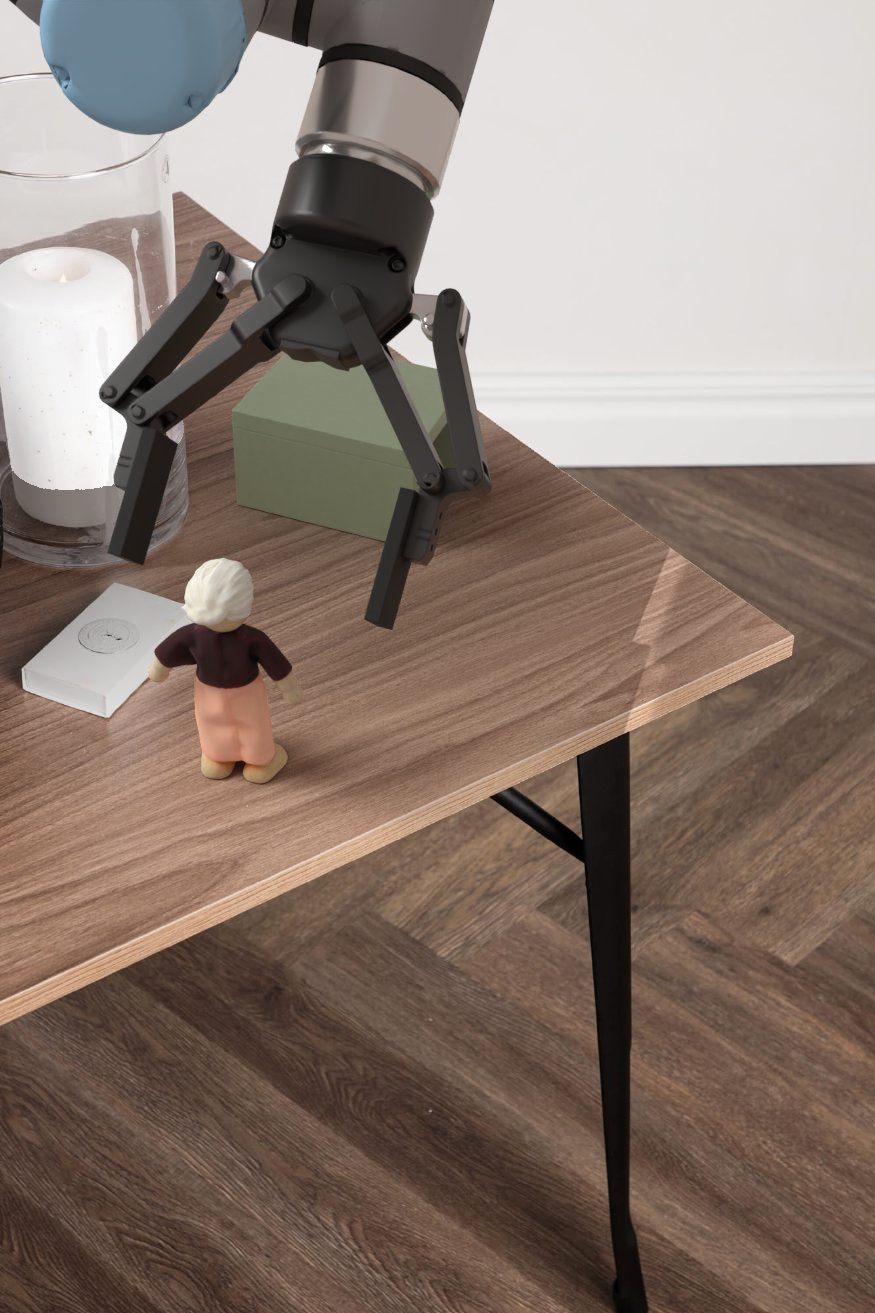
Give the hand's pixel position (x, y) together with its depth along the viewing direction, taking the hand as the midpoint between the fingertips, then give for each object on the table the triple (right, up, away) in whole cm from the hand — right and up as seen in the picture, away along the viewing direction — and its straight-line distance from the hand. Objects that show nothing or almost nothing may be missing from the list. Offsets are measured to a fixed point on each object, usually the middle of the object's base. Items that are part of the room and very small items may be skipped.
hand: (248, 592), depth 69 cm
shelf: (+4, +8, +24) cm, 25 cm away
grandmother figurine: (-1, -9, +4) cm, 10 cm away
